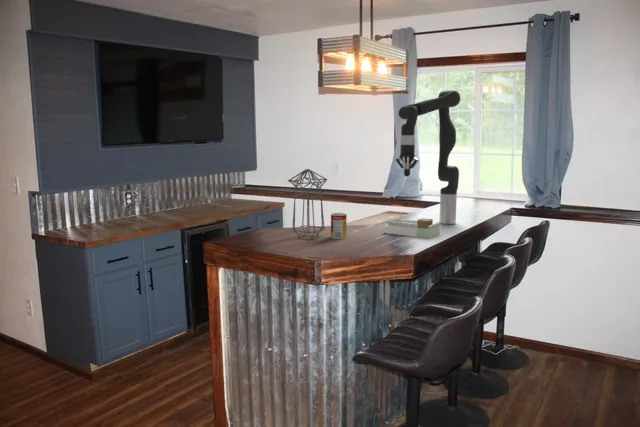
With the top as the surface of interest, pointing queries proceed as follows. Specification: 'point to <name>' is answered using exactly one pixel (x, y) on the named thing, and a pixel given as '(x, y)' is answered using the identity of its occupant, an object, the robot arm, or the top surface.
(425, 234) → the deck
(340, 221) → the canned food
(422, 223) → the walnut block
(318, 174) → the geometric lantern
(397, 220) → the channel rails
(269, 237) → the top surface
